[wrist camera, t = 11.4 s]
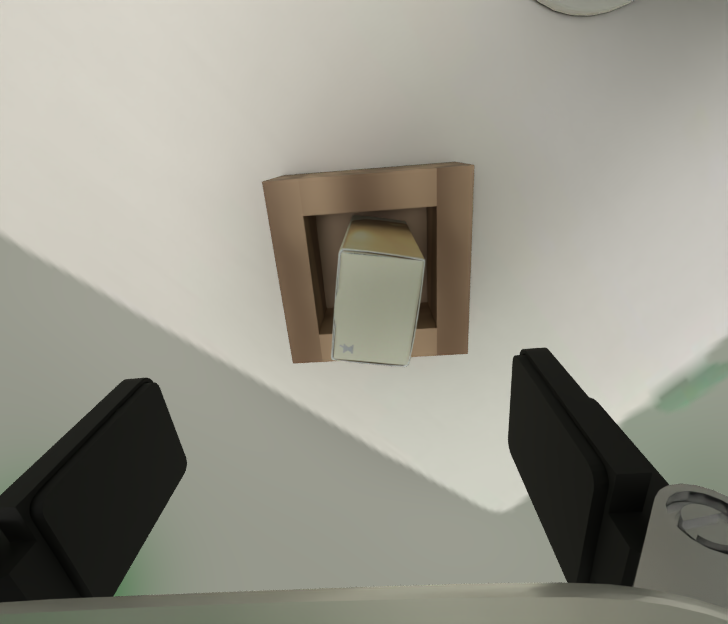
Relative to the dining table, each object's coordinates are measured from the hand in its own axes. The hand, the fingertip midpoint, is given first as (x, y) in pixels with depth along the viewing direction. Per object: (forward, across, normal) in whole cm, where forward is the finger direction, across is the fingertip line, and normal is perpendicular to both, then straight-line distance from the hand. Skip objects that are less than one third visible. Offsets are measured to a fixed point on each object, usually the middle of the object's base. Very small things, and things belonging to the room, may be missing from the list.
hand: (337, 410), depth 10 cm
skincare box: (+22, -1, +2) cm, 22 cm away
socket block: (+23, -1, +2) cm, 23 cm away
